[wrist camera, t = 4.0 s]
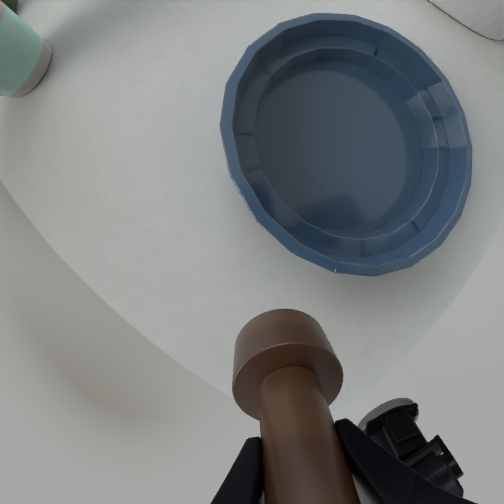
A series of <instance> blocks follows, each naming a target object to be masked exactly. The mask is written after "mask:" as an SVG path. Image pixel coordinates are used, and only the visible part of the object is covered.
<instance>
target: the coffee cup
mask: <svg viewBox="0 0 504 504" xmlns="http://www.w3.org/2000/svg"><path fill="white" fill-rule="evenodd" d="M51 55H52V50H51V46H50V45H49V44H48V43H47V42H46V41H45V40H44V39H43V38H41V37H40V36H39V35H38V34H37V33H36V32H35V31H34V30H33V29H32V28H31V27H30V26H28V25H27V24H26V23H25V22H24V21H23V20H22V19H21V18H20V17H18V16H17V15H16V14H15V13H14V12H13V11H12V10H11V9H10V8H8V7H7V6H6V5H5V4H4V3H3V2H2V1H0V96H7V97H16V98H20V97H23V96H25V95H26V94H28V93H29V92H30V91H31V90H32V89H33V88H34V87H35V86H36V85H37V84H38V83H39V81H40V80H41V78H42V77H43V75H44V74H45V72H46V70H47V68H48V65H49V63H50V60H51Z"/></svg>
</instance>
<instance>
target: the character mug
mask: <svg viewBox="0 0 504 504" xmlns="http://www.w3.org/2000/svg"><path fill="white" fill-rule="evenodd" d="M0 1H2V2H3V3H4V4H5V5H6V6H7V7H8V8H10V9H11V10H12V11H13V12H14V10H15V8H16V5H17V2H18V0H0Z"/></svg>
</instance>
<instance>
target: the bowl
mask: <svg viewBox="0 0 504 504" xmlns="http://www.w3.org/2000/svg"><path fill="white" fill-rule="evenodd" d="M220 131H221V136H222V141H223V146H224V151H225V155H226V160H227V165H228V170H229V174H230V177H231V178H232V180H233V182H234V183H235V185H236V187H237V189H238V190H239V192H240V194H241V196H242V197H243V199H244V201H245V203H246V204H247V206H248V208H249V210H250V211H251V213H252V215H253V217H254V218H255V219H256V221H257V222H258V223H260V224H261V225H262V226H263V227H264V228H265V229H266V230H267V231H268V232H269V233H270V234H272V235H273V236H274V237H275V238H276V239H277V240H278V241H279V242H280V243H281V244H282V245H283V246H285V247H286V248H287V249H288V250H289V251H290V252H291V253H293V254H294V255H296V256H299V257H301V258H303V259H305V260H307V261H310V262H312V263H314V264H316V265H318V266H320V267H323V268H325V269H327V270H329V271H331V272H335V273H343V274H353V275H364V276H379V275H382V274H386V273H390V272H394V271H397V270H401V269H405V268H408V267H411V266H413V265H414V264H416V263H417V262H419V261H420V260H421V259H423V258H424V257H426V256H427V255H428V254H430V253H431V252H432V251H434V250H435V249H437V248H438V247H439V246H440V245H441V244H442V242H443V241H444V240H445V238H446V237H447V236H448V234H449V233H450V231H451V230H452V229H453V227H454V226H455V224H456V223H457V221H458V220H459V218H460V216H461V214H462V211H463V208H464V205H465V202H466V198H467V195H468V192H469V189H470V185H471V184H470V183H471V172H472V145H471V140H470V135H469V131H468V127H467V122H466V118H465V115H464V112H463V109H462V107H461V105H460V103H459V101H458V99H457V97H456V95H455V93H454V91H453V89H452V87H451V85H450V84H449V82H448V80H447V79H446V77H445V76H444V74H443V73H442V72H441V71H440V70H439V68H438V67H437V66H436V65H435V64H434V63H433V62H432V60H431V59H430V58H429V57H428V56H427V55H426V54H425V53H424V52H423V51H422V50H421V49H420V48H419V47H418V46H416V45H415V44H414V43H412V42H411V41H409V40H408V39H406V38H405V37H403V36H402V35H400V34H399V33H397V32H396V31H394V30H393V29H391V28H389V27H387V26H385V25H382V24H379V23H377V22H374V21H371V20H368V19H365V18H362V17H359V16H356V15H350V14H333V13H312V14H309V15H305V16H301V17H298V18H294V19H291V20H287V21H284V22H281V23H279V24H277V25H276V26H274V27H273V28H271V29H270V30H269V31H267V32H266V33H265V34H263V35H262V36H261V37H259V38H258V39H257V40H255V41H254V42H253V43H252V44H250V45H249V46H248V47H247V48H246V50H245V51H244V53H243V55H242V56H241V58H240V59H239V61H238V63H237V65H236V66H235V68H234V70H233V71H232V73H231V75H230V77H229V78H228V80H227V83H226V87H225V93H224V99H223V106H222V113H221V120H220Z"/></svg>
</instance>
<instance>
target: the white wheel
mask: <svg viewBox="0 0 504 504" xmlns="http://www.w3.org/2000/svg"><path fill="white" fill-rule="evenodd" d="M429 1H430V2H432V3H433V4H434V5H436V6H437V7H439V8H440V9H441V10H443V11H444V12H446V13H447V14H448V15H450V16H451V17H453V18H454V19H456V20H457V21H459V22H460V23H462V24H463V25H465V26H466V27H468V28H470V29H471V30H473V31H475V32H477V33H479V34H481V35H483V36H485V37H488V38H490V39H495V40H501V39H504V0H429Z"/></svg>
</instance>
